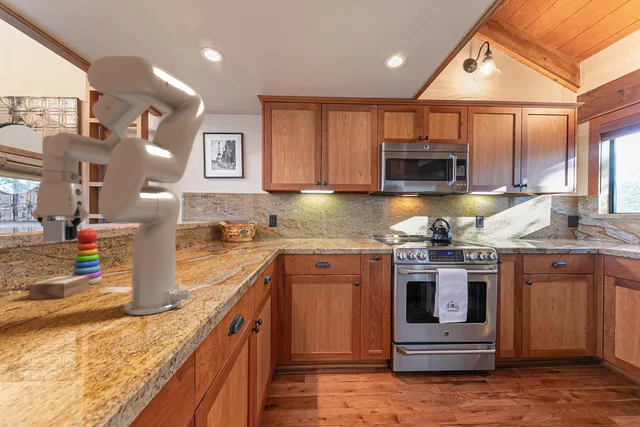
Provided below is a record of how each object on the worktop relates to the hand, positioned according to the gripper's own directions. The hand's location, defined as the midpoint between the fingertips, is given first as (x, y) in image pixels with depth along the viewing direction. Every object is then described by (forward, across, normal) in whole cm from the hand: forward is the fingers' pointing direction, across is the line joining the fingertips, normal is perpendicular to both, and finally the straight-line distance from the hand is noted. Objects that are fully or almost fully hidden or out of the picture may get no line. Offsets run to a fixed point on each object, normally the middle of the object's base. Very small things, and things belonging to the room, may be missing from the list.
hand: (60, 238), depth 76 cm
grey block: (+1, 0, 0) cm, 1 cm away
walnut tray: (+17, 0, 0) cm, 17 cm away
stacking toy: (+17, +1, -11) cm, 20 cm away
